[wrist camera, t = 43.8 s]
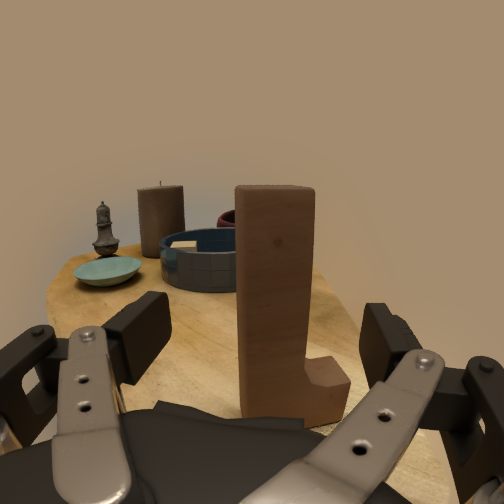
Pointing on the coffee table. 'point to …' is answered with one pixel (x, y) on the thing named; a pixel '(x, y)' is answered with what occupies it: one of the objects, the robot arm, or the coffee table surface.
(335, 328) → the coffee table surface
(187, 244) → the cube
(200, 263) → the bowl
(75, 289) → the coffee table surface
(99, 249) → the salt shaker
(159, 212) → the pillar candle
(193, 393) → the coffee table surface
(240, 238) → the wooden block
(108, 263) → the saucer
